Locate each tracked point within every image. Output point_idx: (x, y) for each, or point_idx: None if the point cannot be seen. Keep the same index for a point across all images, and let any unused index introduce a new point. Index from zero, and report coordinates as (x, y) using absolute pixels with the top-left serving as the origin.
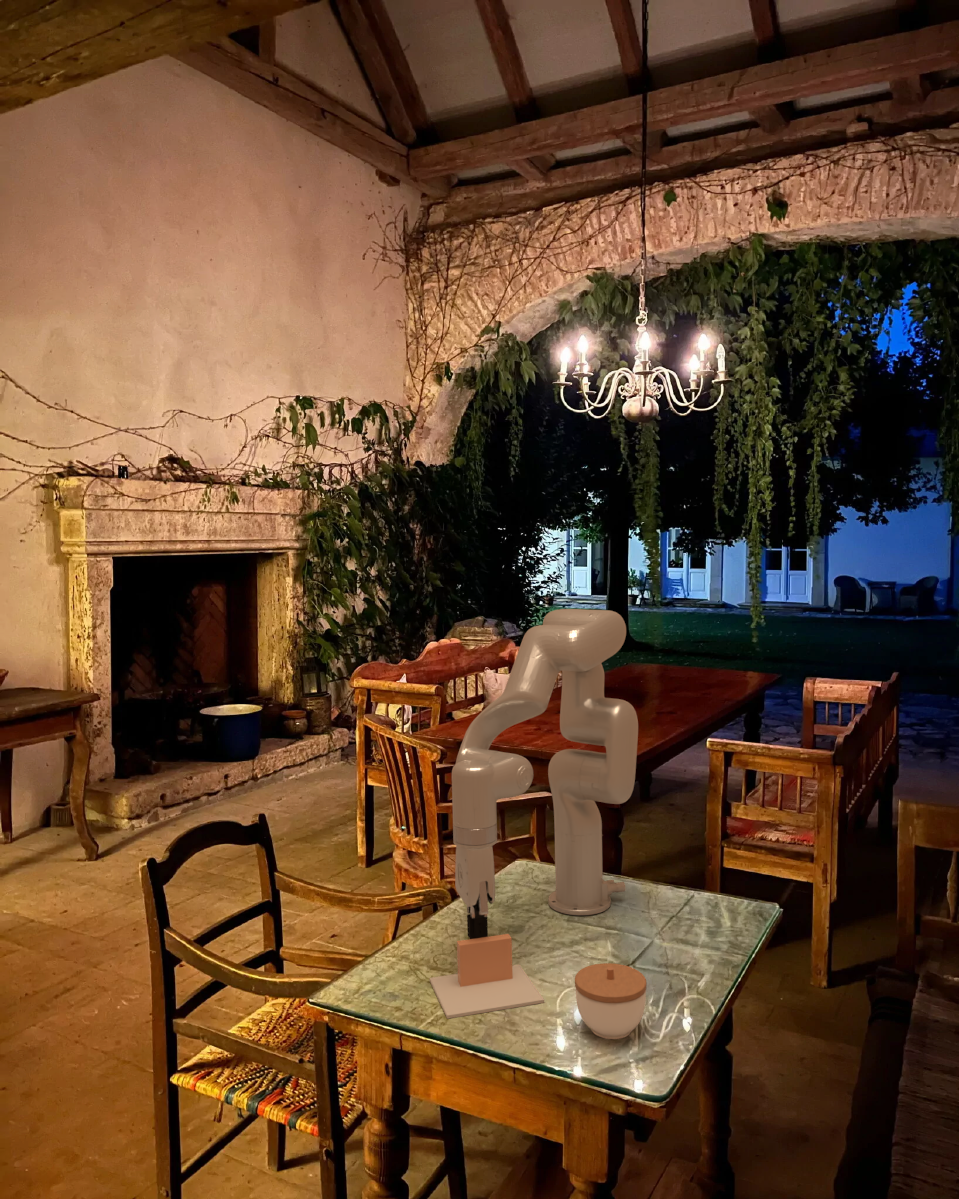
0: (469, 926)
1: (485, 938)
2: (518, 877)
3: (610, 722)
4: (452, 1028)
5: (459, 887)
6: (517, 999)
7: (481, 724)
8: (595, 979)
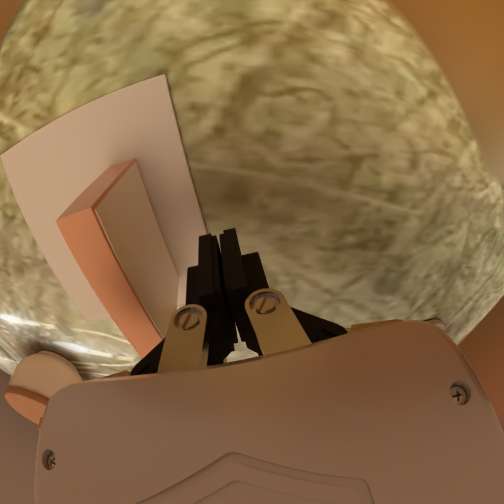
0: (198, 267)
1: (128, 306)
2: (497, 278)
3: None
4: None
5: (273, 431)
6: (75, 285)
7: None
8: (31, 410)
